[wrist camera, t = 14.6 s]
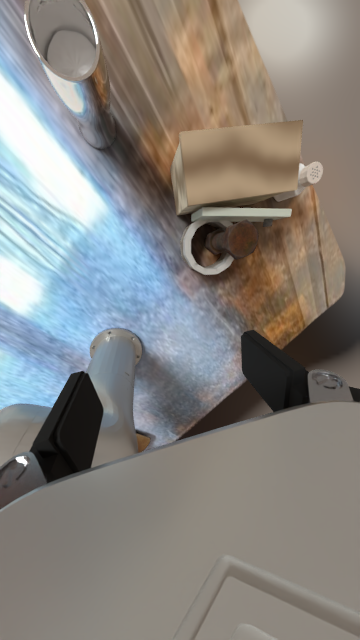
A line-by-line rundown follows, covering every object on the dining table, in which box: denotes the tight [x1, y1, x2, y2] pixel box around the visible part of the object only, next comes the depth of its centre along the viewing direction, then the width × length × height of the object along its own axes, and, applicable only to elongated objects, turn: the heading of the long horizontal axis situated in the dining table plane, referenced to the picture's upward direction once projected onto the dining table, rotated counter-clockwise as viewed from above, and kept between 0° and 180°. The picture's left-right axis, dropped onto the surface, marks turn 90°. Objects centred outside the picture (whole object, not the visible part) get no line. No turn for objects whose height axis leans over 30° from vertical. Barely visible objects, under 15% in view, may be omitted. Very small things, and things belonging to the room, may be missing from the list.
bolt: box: [204, 219, 258, 259], centre depth 35 cm, size 6×5×15 cm
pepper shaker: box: [273, 162, 323, 202], centre depth 36 cm, size 4×4×10 cm
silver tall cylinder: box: [24, 0, 116, 149], centre depth 24 cm, size 7×7×15 cm
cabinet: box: [170, 120, 303, 271], centre depth 35 cm, size 21×19×12 cm
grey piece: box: [183, 207, 292, 275], centre depth 36 cm, size 12×18×8 cm, turn 91°
